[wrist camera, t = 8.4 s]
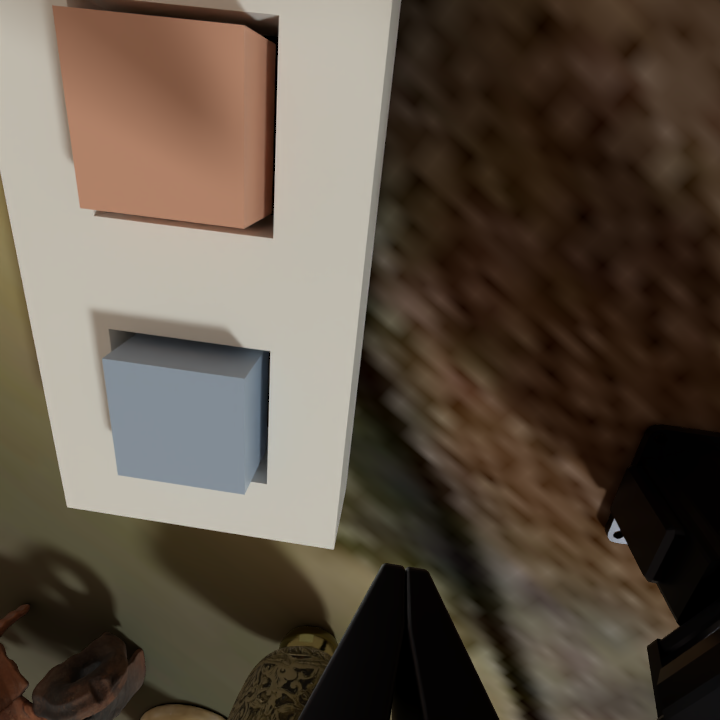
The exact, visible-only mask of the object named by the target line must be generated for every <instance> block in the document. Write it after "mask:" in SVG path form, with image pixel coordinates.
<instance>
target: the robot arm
mask: <svg viewBox="0 0 720 720" xmlns="http://www.w3.org/2000/svg"><path fill="white" fill-rule="evenodd" d="M659 434H663V435H662V436H661V437H660V438H658V439H654V438H655V437H656V436H657V435H659ZM610 511H611V515H610V517H609V519H608V522H607V524H606V526H605V532H606V534H607V536H608V538H609V540H611V541H612V542H615V543H622V544H628V546H629V548H630V550H631V552H632V554H633V556H634V558H635V560H636V562H637V564H638V566H639V568H640V570H641V572H642V574H643V575H644V577H645V578H646V579H647V581H648V582H653V583H656V584H657V586H658V588H659V589H660V591H661V593H662V595H663V597H664V599H665V601H666V603H667V605H668V607H669V608H670V610H671V612H672V614H673V616H674V618H675V620H676V622H677V623H678V625H679V627H678V628H677V629H675V630H674V631H673V632H671V633H670V634H668V635H667V636H666V637H664V638H663V639H662V640H661V639H656V640H655V641H654V642H652V643H651V644H650V645H648V646H647V651H648V657H649V664H650V670H651V677H652V683H653V689H654V696H655V702H656V709H657V715H658V719H657V720H720V433H718V432H710V431H703V430H696V429H689V428H682V427H675V426H668V425H653V426H651V427H649V428H648V429H647V430H646V432H645V433H644V436H643V438H642V440H641V443H640V445H639V448H638V450H637V452H636V455H635V457H634V460H633V462H632V464H631V466H630V467H629V468H627V470H626V472H625V475H624V477H623V479H622V482H621V484H620V487H619V489H618V491H617V494H616V496H615V499H614V501H613V503H612V506H611V508H610ZM616 531H619V532H617V533H614V532H616ZM391 709H392V720H499V718H498V716H497V713H496V711H495V709H494V707H493V705H492V703H491V701H490V699H489V697H488V695H487V693H486V690H485V688H484V686H483V684H482V682H481V680H480V678H479V676H478V674H477V672H476V670H475V668H474V665H473V663H472V661H471V659H470V657H469V655H468V653H467V651H466V649H465V647H464V645H463V642H462V640H461V638H460V636H459V634H458V632H457V630H456V628H455V626H454V624H453V622H452V620H451V617H450V615H449V613H448V611H447V609H446V607H445V605H444V603H443V601H442V599H441V597H440V594H439V592H438V590H437V588H436V586H435V584H434V582H433V580H432V578H431V576H430V574H429V572H428V571H427V570H425V569H420V568H414V567H407V568H406V569H404V567H403V566H401V565H395V564H388V563H385V564H383V565H382V566H381V568H380V570H379V572H378V573H377V575H376V577H375V579H374V581H373V583H372V584H371V586H370V588H369V590H368V592H367V594H366V595H365V597H364V599H363V601H362V603H361V604H360V606H359V608H358V610H357V612H356V614H355V615H354V617H353V619H352V621H351V623H350V625H349V626H348V628H347V630H346V632H345V634H344V636H343V637H342V639H341V641H340V643H339V645H338V647H337V648H336V650H335V652H334V654H333V656H332V658H331V659H330V661H329V663H328V665H327V667H326V669H325V670H324V672H323V674H322V676H321V678H320V680H319V681H318V683H317V685H316V687H315V689H314V690H313V692H312V694H311V696H310V698H309V700H308V701H307V703H306V705H305V707H304V709H303V711H302V712H301V714H300V716H299V718H298V720H390V715H391Z"/></svg>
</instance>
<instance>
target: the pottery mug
mask: <svg viewBox="0 0 720 720" xmlns="http://www.w3.org/2000/svg"><path fill="white" fill-rule="evenodd" d="M29 609H30V605H28V604H25V605H21V606H19V607H18V608H17V609H16V610H15V611H12V612H10V613H8V614H7V615H6V616H5V617H4V618H3V619H1V620H0V637H1V636H2V634H3V633H4V632H5V631H6V630H7V629H8V628H9V626H11V625H12V624H13V623H14V622H16V621H17V620H18V619H19V618H21V617H23V616H24V615H25V614H27V613H28V611H29ZM145 673H146V666H145V658H144V653H143V650H142V649H137V650H136V651H135V652H134V654H133V655H132V657H131V658H130V659H129V661H128V660H127V651H126V645H125V643H124V642H123V641H122V640H121V639H120V638H118V637H116V636H115V635H113V634H111V633H109V632H104V633H103V634H102V635H101V636H100V637H99V638H98V639H95V640H94V641H93V642H92V643H91V644H90V645H89V646H88V647H87V648H85V649H84V650H83V651H82V652H80V653H79V654H76V655H73V656H72V657H70V658H68V659H67V660H66V661H65V662H63V663H62V664H59V665H57V666H55V667H53V668H52V669H51V670H50V671H49V672H48V673H47V674H46V676H45V677H44V678H43V679H42V680H41V681H40V682H39V683H38V684H37V686H36V687H35V689H34V690H33V693H32V700H33V703H31V702H30V701H29V700H27V699H26V698H25V697H23V696H22V694H23V693H24V692H25V690H26V689H27V688H28V686H29V682H28V681H27V680H26V679H25V678H24V677H23V676H22V675H21V674H20V672H19V670H18V666H17V665H16V663H15V662H14V661H13V660H11V659H9V658H8V657H7V655H6V651H5V648H4V646H3V645H2V644H1V643H0V720H113V718H115V717H117V716H118V715H119V714H120V712H121V710H122V709H123V708H124V707H125V706H126V704H127V703H128V701H129V700H130V699H131V698H132V696H133V695H134V694H135V693H136V692H137V691H138V690H139V689H140V687H141V686H142V684H143V681H144V677H145Z"/></svg>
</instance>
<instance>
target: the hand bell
mask: <svg viewBox="0 0 720 720" xmlns="http://www.w3.org/2000/svg"><path fill="white" fill-rule="evenodd" d="M140 720H226V719H224V718H223V717H222V716H220V715H218V714H215V713H213V712H210V711H208V710H205V709H202V708H198V707H194V706H189V705H182V704H166V705H161V706H157V707H155V708H152V709H150V710H149V711H147V712H146V713H144V715H143V716H142V717H141V719H140Z"/></svg>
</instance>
